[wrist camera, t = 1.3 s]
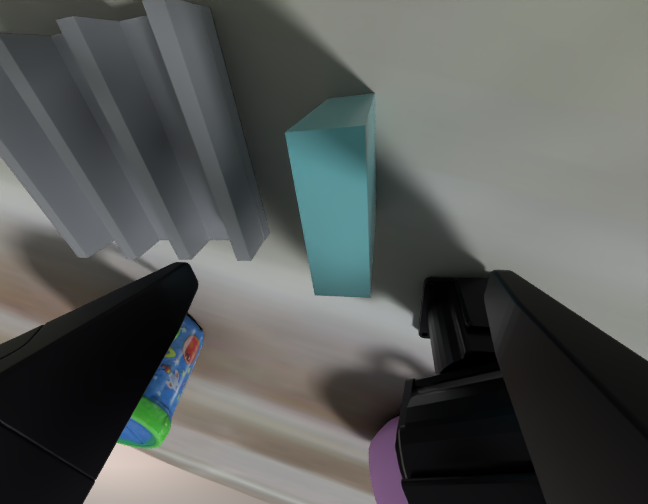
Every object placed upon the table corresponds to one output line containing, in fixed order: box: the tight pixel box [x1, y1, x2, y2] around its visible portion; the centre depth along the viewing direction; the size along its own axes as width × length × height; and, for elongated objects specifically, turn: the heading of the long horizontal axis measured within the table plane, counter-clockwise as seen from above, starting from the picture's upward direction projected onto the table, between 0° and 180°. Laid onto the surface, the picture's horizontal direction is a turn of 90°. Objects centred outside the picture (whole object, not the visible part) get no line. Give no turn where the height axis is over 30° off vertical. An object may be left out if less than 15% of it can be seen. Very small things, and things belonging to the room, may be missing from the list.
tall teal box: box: [285, 93, 376, 298], centre depth 14 cm, size 7×2×8 cm, turn 7°
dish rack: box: [0, 0, 270, 261], centre depth 17 cm, size 13×15×4 cm
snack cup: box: [117, 316, 204, 448], centre depth 27 cm, size 16×10×10 cm
